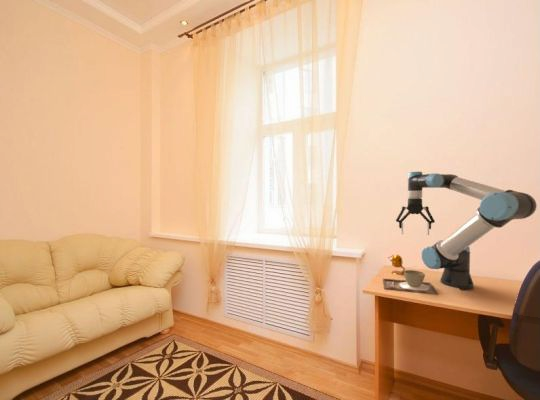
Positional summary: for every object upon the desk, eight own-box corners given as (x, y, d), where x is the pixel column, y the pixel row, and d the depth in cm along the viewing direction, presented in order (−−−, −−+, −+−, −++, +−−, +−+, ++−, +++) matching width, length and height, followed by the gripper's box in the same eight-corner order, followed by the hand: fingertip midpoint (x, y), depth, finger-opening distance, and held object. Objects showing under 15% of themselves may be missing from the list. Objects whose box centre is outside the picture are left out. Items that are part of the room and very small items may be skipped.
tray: (429, 285, 152) (430, 282, 152) (436, 295, 136) (436, 292, 136) (382, 281, 160) (382, 278, 160) (384, 290, 144) (384, 287, 144)
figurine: (387, 271, 180) (387, 253, 180) (405, 272, 178) (405, 253, 178) (390, 275, 172) (390, 255, 172) (409, 276, 170) (409, 256, 170)
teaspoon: (391, 281, 156) (391, 281, 156) (395, 282, 155) (395, 281, 155) (389, 287, 147) (389, 286, 147) (393, 287, 146) (393, 286, 146)
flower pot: (427, 289, 141) (427, 275, 141) (406, 288, 143) (406, 274, 143) (421, 283, 151) (421, 270, 151) (401, 282, 153) (401, 269, 153)
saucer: (426, 284, 151) (426, 283, 151) (431, 293, 138) (431, 291, 138) (398, 282, 156) (398, 280, 156) (400, 290, 143) (400, 288, 143)
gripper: (437, 198, 162) (437, 234, 163) (391, 198, 170) (390, 232, 170) (441, 198, 155) (440, 236, 155) (392, 198, 163) (392, 234, 163)
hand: (414, 234), depth 163 cm, fingers open, 13 cm apart
